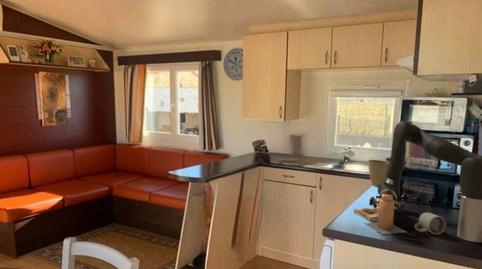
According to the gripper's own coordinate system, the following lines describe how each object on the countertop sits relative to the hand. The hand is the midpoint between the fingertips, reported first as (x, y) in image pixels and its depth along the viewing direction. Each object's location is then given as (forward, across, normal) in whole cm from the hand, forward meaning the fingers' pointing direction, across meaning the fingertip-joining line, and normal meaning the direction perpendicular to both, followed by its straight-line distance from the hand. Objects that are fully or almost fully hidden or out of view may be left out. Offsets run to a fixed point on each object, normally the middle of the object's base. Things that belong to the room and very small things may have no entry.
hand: (386, 207), depth 142 cm
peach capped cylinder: (-1, 0, +9) cm, 9 cm away
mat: (-1, 0, +9) cm, 9 cm away
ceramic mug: (-8, +17, +10) cm, 21 cm away
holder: (-14, -6, +9) cm, 18 cm away
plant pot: (-83, -7, +10) cm, 84 cm away
